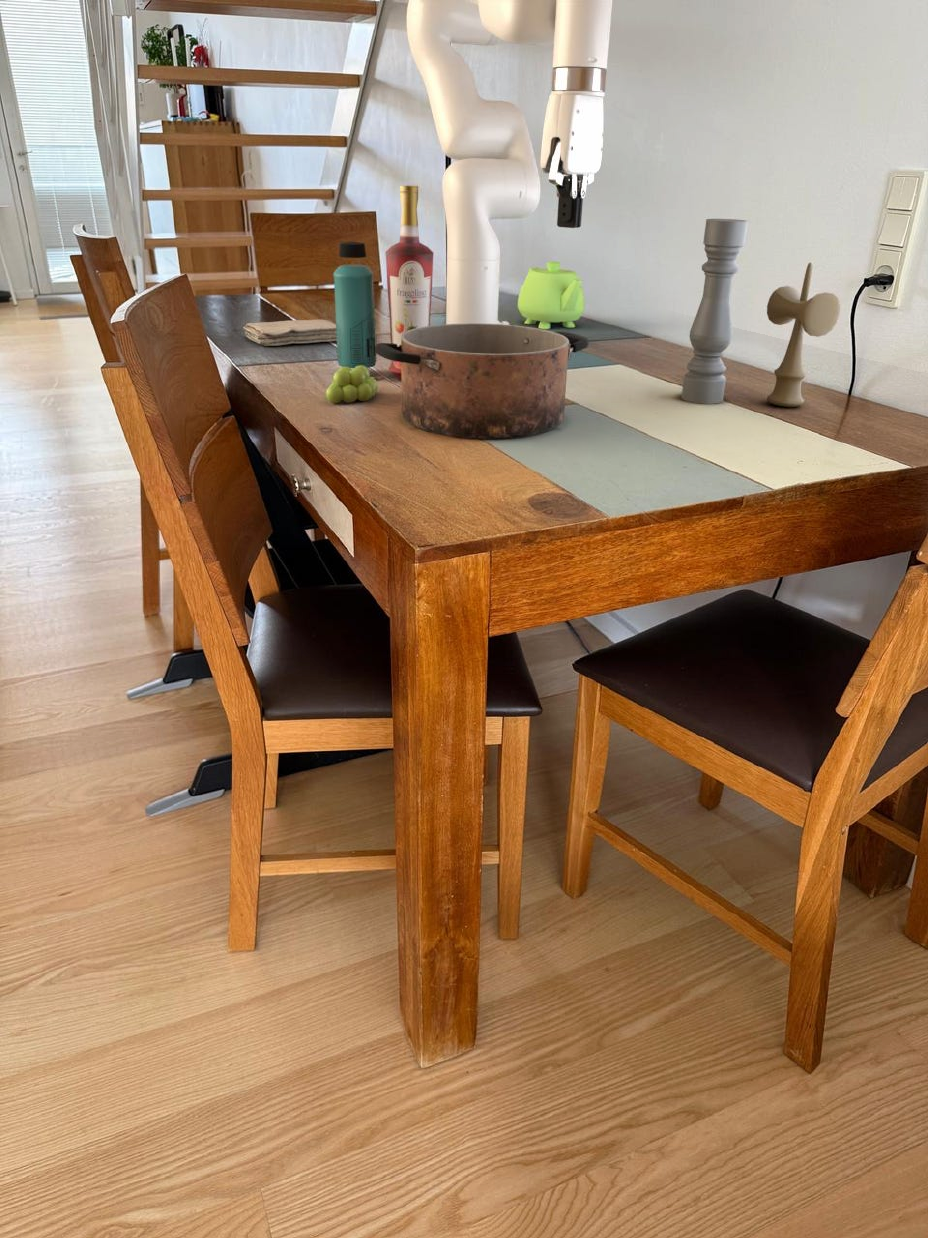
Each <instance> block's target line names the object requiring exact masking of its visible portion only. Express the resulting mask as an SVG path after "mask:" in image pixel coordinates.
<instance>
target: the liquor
mask: <svg viewBox="0 0 928 1238" xmlns="http://www.w3.org/2000/svg"><path fill="white" fill-rule="evenodd" d="M399 198H400V204H401V219H400V229H399V230H400V231H399V242H397V243H395V244H392V245H391V246H390V247H389V248H388V249H387V250H386V251H385V265H386V286H387V299H388V312H389V330H390V343H394V344H397V347H399V345H401V336H402V334H404V333H405V332H407V331H409V330H412V329H416V328H420V327H426V326H431V312H432V311H431V310H432V298H433V297H432V294H433V277H434V276H433V273H434V251H433V250H432V249H431V248H430V247H429V246H428V245H425V244H423V243H422V242H421V241H420V232H419V219H418V217H419V216H418V203H419V185H400V186H399ZM388 370H389V371H390V372H391V373H392V374H393V375H394V376H395V378H396V379H398V380H401V362H397V361H392V360H391V364H390V366H389V367H388Z"/></svg>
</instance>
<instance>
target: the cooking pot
mask: <svg viewBox="0 0 928 1238" xmlns="http://www.w3.org/2000/svg"><path fill="white" fill-rule="evenodd" d="M588 347H589V339H588V338H587V337H586V336H583V335H580V334H577V333H573V332H569V331H562V330H561V331H551V330H549V329H541V328H538V327H532V326H523V325H515V324H509V325H504V324H480V323H466V324H446V323H445V324H435V325H430V326H426V327H420V328H416V329H412V330H409V331H407V332H405V333H404V334H402V336H401V345H399V347H397V344H394V343H391V342H380V343H376V348H375V352H376V353H377V356H379V357H382V358H384V359H386V360H389V361H391V362H392V361H397V362H401V379H400V380H401V382H400V383H401V384H400V385H401V389H400V390H401V414H402V416H403V418H404V419H405V420H406V422H407V423H409V424H410V425H411V426H413V427H415V428H417V429H419V430H423V431H424V432H425V431H426V432H428V433H433V434H435V435H442V436H445V437H446V436H447V437H452V438H453V437H454V438H463V439H474V440H476V439H478V440H505V439H518V438H526V437H527V438H528V437H532V436H537V435H541V434H544V433H548V432H549V431H551V430H552V431H553V430H554V429H556V428H557V427H558V426H559V425H560V424H561V423H562V422H563V419H564V416H565V409H566V408H565V405H566V394H567V393H566V392H567V378H568V377H567V376H568V366H569V365H568V363H569V360H570V359H571V358H572V353H578V352H581V351H582V350H585V349H586V348H588Z"/></svg>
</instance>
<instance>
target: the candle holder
mask: <svg viewBox="0 0 928 1238" xmlns="http://www.w3.org/2000/svg"><path fill="white" fill-rule="evenodd" d="M748 224H749V221H748V220H746V219H735V218H734V219H733V218H732V219H731V218H706V219H705V228H704V235H703V242H702V243H703V245H704V248H703V249H704V252H705V254H706V255H705V256H706V258H707V261H706V262H704V263H703V264H702V265H701V271H703V273H704V282H703V283H704V284H703V291H702V297H701V300H700V302H699V306H698V309H697V311H696V314H695V317H694V319H693V322H692V324H691V327H690V331H689V341H690V344H691V346H692V348H693V351H692V353H693V355H694V357H692V358H691V359H690V362H688V363H687V365H686V369H687V371H688V372H686V373H685V374H683V381H682V389H681V396H680V397H681V399H682V400H683V401H686V402H688V403H693V404H702V405H713V404H715V405H716V404H720V403H722V402H723V401H724V396H725V395H724V394H725V388H726V381H727V378H726V376H725V375H723V374H724V373H726V370H727V366H726V365H725V364H724V361H723V359H722V357H723V356H724V355H725V354H724V352H725V350H727V348H728V347H729V346H730V345H731V342H732V341H733V340H732V339H733V325H732V324H733V323H732V311H731V294H732V293H731V292H732V286H733V279H734V277H735V275H736V274H737V273H738V272H739V271H740V266H739V265H738V264H737V263H736V260H737V259H738V257H739V255H740V254H741V253H742V250H743V247H744V246H745V244H746V238H747V237H746V236H747V231H748Z"/></svg>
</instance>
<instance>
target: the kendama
mask: <svg viewBox="0 0 928 1238" xmlns="http://www.w3.org/2000/svg"><path fill="white" fill-rule="evenodd" d="M812 272H813V263H812V262H808V264H807V267H806V269H805V273H804V278H803V282H802V288H801V292H800V291H799V290H798V289H796V288H795V287H794V286H790V285H785V286H779V287H778V288H776V289H775V290H773V291H772V293H771V294H770V297H769V299H768V301H767V304H766V315H767V318H768V320H769V322H771V323H772V324H773V325H777V326H782V325H787V324H789V323H791V322H792V321H794V323H793V327H792V331H791V335H790V338H789V341H788V344H787V347H786V349H785V353H784V356H783V359H782V361H781V363H780V365H779V366H778V368H776V369H775V370H774V371H773V373H774V376H775V378H776V380H775V384H774V389H773V391H772V392H770V394H768V396H767V398H766V399H767V401H768V403H770V404H771V405H774V406H777V407H785V408H795V407H800V406H802V405H803V404H804V403H805V399H804V398H803V397H802V390H801V389H802V383H803V381H804V379H805V378H806V377H807V373H806V372H805V370H804V367H803V343H804V332H805V333H806V334H808V335H809V336H811V337H816V338H819V337H823V336H826V335H828V334H829V333H831V331H833V329H834V328H835V327H836V325H837V323H838V320H839V317H840V314H841V303H840V299H839V297H838V296H837V295H835V294H834V293H832V292H829V291H824V292H820V293H817V294H815V295H813V296H812V297H811V298H809V293H810V288H811V287H810V286H811V280H812ZM808 298H809V299H808Z"/></svg>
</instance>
